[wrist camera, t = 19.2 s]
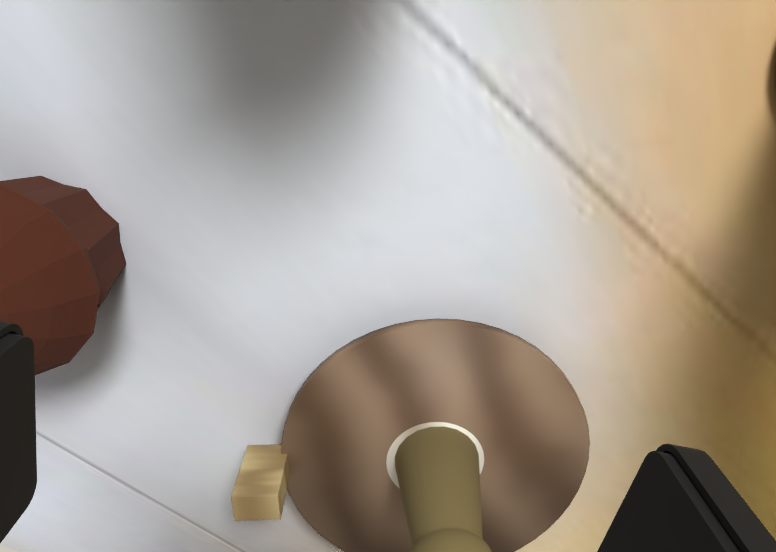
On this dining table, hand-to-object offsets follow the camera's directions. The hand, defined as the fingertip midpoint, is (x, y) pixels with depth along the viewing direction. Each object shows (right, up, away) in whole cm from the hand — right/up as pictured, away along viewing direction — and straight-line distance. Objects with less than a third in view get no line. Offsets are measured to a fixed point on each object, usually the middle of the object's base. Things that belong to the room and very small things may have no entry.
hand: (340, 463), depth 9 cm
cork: (+4, -10, +32) cm, 34 cm away
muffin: (-21, +5, +28) cm, 36 cm away
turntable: (+4, -10, +33) cm, 34 cm away
